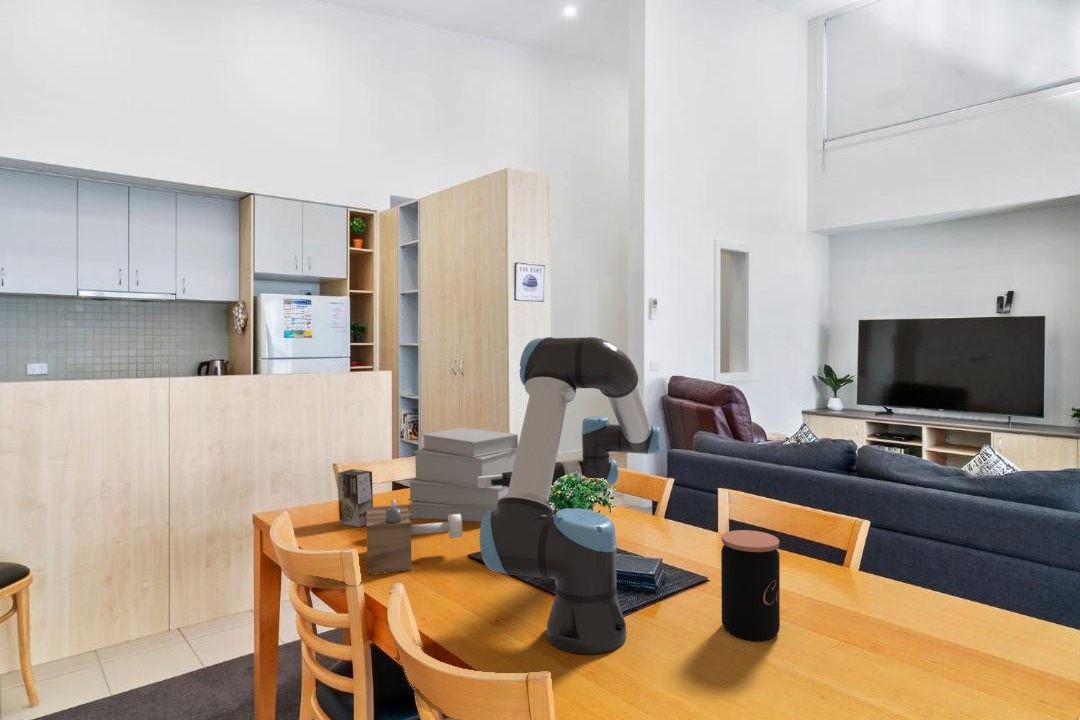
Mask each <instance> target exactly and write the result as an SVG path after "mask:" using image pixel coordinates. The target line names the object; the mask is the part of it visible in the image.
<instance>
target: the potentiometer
mask: <svg viewBox="0 0 1080 720" xmlns="http://www.w3.org/2000/svg"><path fill="white" fill-rule="evenodd" d="M390 504H391V505H390V506H391V508H389V509H386V523H388V524H395V523H399V522H401V509H400V508H395V505H396V499H391V500H390Z"/></svg>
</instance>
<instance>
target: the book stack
mask: <svg viewBox="0 0 1080 720" xmlns="http://www.w3.org/2000/svg"><path fill="white" fill-rule="evenodd" d="M421 436H422V437H423V447H421V449H417V450H413V451H412V453H415V455H414V459H415V460H414V461H415V477H413V479H411V480H409V481H407V484H409V494H410V495H409V497H410V498H409V499H407V501H409V503H408V505H410V506H411V507H410V508H411V509H410V511H411V518H412V519H420V518H421V519H425V520H441V521H442V520H445V521H448V515H452V514H461V519H462V522H480V523H481V522H482V519H483V517H484V516H485V514H486V513H487V512H489V511H492V510H494V511H496V508H497V504H498V500H499V499H500V498H501V497H503V496H505V495H506V494H507V493H508V489H509V488H508V487H507V486H504V487H502V486H495V487H483V488H479V487H478V477H479V476H492V475H502V473H504V472H512V471H513V467H514V462H515V458H516V453H517V449H518V444H519V435H518V434H517V433H513V432H512V433H511V432H510V433H509V432H504V431H503V432H502V431H495V430H494V431H493V430H487V429H480V428H473V427H472V428H471V427H459V428H453V429H452V428H451V429H447V430H441V431H433V432H427V433H423V434H422V433H421Z"/></svg>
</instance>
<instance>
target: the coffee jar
mask: <svg viewBox="0 0 1080 720" xmlns="http://www.w3.org/2000/svg"><path fill="white" fill-rule="evenodd" d="M720 540H721V542H722V544H723V545H722V547H721V550H720V551H721V552H720V555H721V557H720V559H721V560H720V561H721V562H720V563H721V568H720V569H721V575H720V576H721V577H720V578H721V579H720V580H721V589H720V590H721V592H720V593H721V624H722V625H723V626H722V627H723V628H724V629H725V631H726V632H727V633H728V634H729V635H730V636H732V637H734V638H736V639H738V640H742V641H748V642H752V643H753V642H757V643H759V642H761V643H762V642H768V641H771V640H773V639H774V638H775V637H777V635H778V633H779V632H780V628H781V627H780V626H781V625H780V624H781V622H780V621H781V617H780V614H781V613H780V611H781V608H780V605H781V604H780V598H781V597H780V596H781V593H780V591H781V589H780V588H781V587H780V585H781V583H780V582H781V581H780V577H781V576H780V568H781V567H780V565H781V563H780V557H781V555H780V552H779V550H778V548H779V547H780V540H779V538H778V537H776V536H775V535H773V534H770V533H767V532H763V531H758V530H748V529H746V530H745V529H742V530H741V529H740V530H739V529H737V530H731V531H727V532H725V533H723V534H722V535H721V539H720Z"/></svg>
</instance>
